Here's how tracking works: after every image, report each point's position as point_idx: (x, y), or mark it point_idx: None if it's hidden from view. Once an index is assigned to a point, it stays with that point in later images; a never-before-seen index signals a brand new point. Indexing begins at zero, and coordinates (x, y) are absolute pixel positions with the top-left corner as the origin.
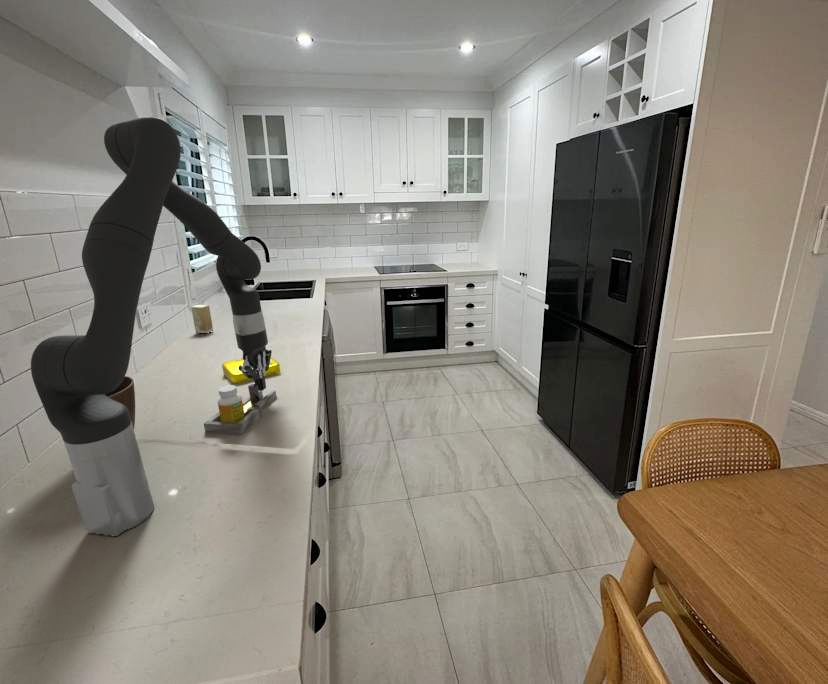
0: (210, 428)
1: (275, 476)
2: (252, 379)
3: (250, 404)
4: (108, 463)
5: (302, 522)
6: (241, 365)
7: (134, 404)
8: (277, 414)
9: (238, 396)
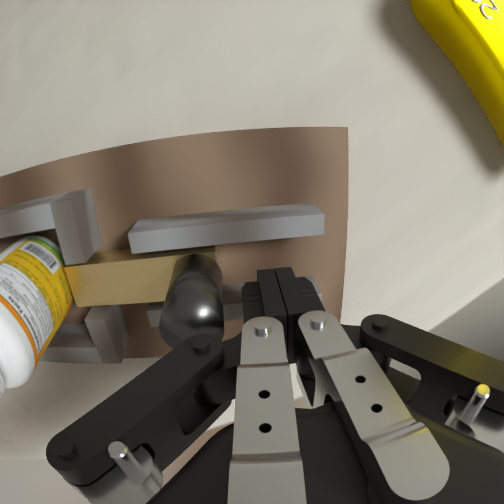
0: None
1: (13, 429)
2: (466, 66)
3: (147, 283)
4: None
5: (3, 458)
6: (72, 482)
7: None
8: None
9: (7, 387)
